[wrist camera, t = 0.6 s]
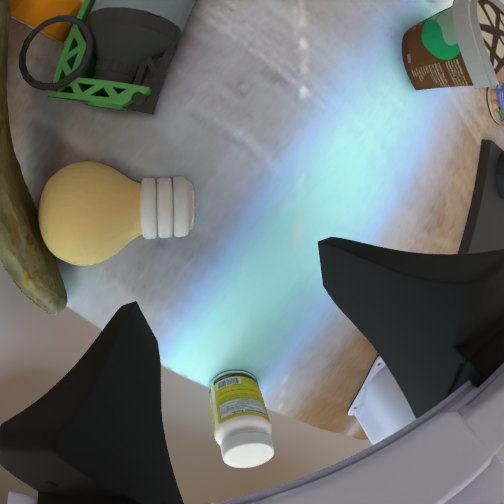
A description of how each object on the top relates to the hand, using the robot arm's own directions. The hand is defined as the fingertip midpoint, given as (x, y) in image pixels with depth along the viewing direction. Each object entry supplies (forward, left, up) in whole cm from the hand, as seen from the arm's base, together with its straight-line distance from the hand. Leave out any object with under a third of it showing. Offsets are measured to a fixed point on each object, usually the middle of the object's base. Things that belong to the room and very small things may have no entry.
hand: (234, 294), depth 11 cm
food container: (+21, -15, -11) cm, 28 cm away
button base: (+8, -31, -11) cm, 34 cm away
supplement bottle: (-15, -4, -11) cm, 19 cm away
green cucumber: (-8, +14, -8) cm, 18 cm away
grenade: (+19, +9, -7) cm, 22 cm away
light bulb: (+2, +2, -9) cm, 9 cm away
